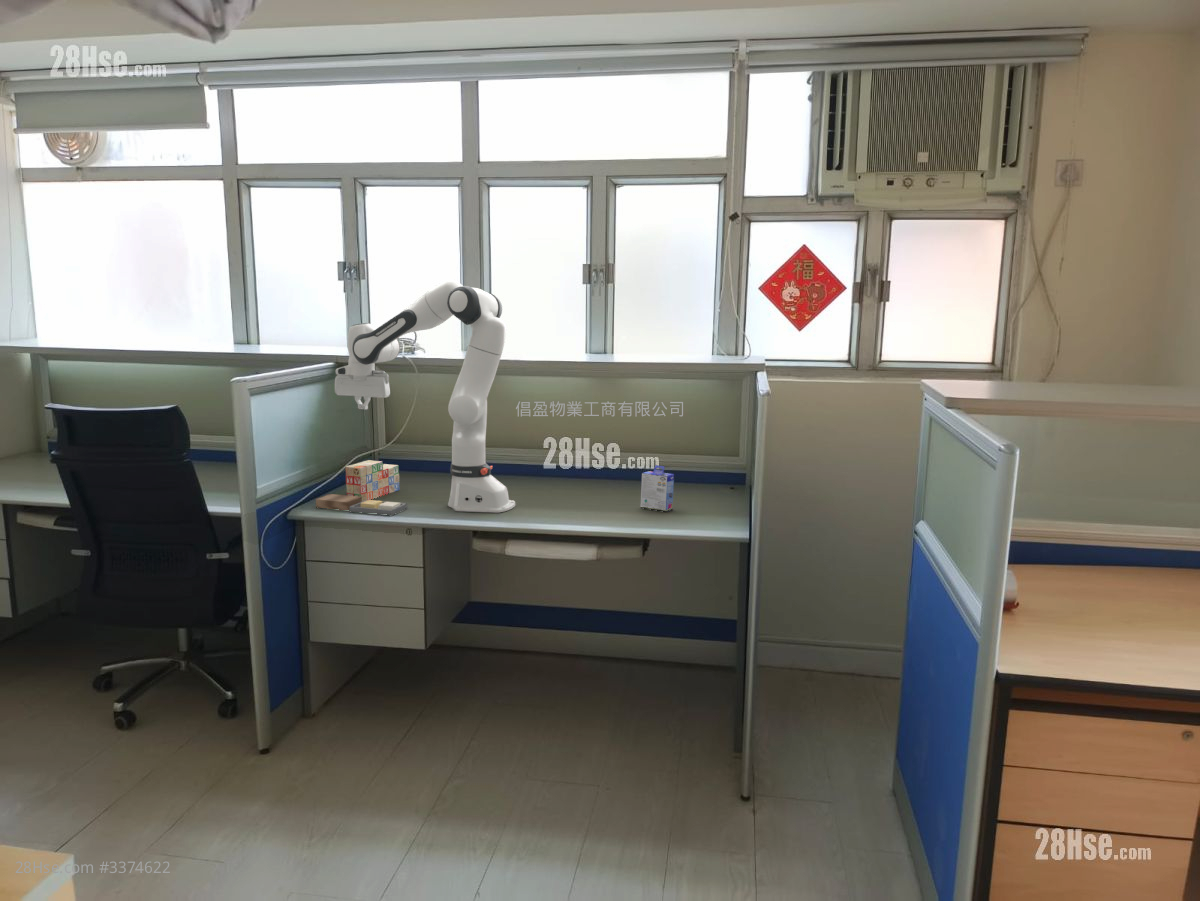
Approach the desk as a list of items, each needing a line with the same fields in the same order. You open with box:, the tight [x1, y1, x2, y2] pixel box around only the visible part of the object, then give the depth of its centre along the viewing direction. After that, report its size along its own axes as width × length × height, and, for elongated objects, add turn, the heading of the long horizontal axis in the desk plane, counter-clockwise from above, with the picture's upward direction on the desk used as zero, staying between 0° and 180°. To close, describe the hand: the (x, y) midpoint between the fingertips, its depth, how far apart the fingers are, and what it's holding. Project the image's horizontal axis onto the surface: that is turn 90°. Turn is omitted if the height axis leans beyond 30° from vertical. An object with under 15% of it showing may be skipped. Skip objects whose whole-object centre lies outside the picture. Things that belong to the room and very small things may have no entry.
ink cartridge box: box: [640, 464, 675, 510], centre depth 271 cm, size 10×6×14 cm, turn 59°
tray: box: [348, 500, 408, 516], centre depth 263 cm, size 15×10×2 cm, turn 75°
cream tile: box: [379, 501, 401, 510], centre depth 262 cm, size 5×5×2 cm
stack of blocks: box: [345, 459, 400, 501], centre depth 282 cm, size 21×6×12 cm, turn 158°
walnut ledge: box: [315, 493, 362, 511], centre depth 267 cm, size 12×8×3 cm, turn 75°
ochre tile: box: [361, 499, 383, 509], centre depth 263 cm, size 5×5×2 cm
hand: (363, 409), depth 286 cm, fingers closed
